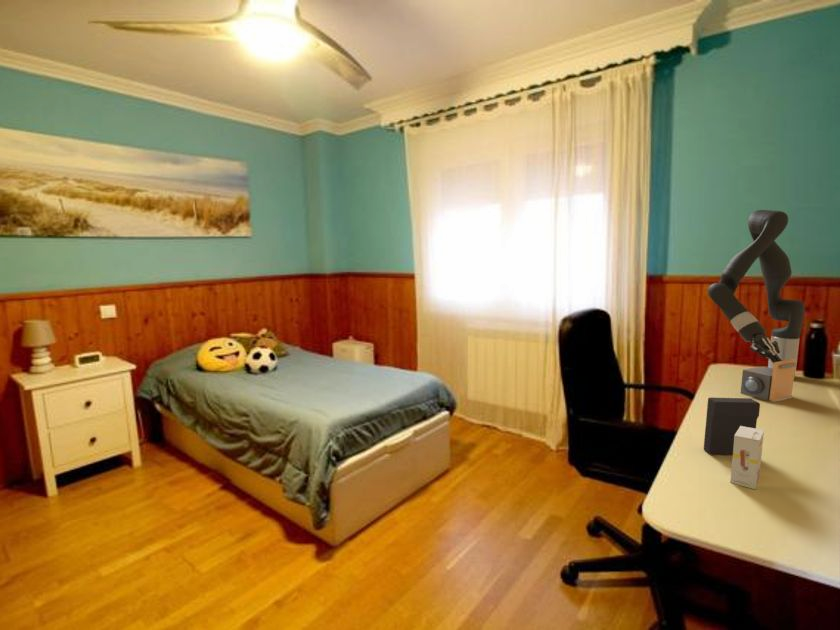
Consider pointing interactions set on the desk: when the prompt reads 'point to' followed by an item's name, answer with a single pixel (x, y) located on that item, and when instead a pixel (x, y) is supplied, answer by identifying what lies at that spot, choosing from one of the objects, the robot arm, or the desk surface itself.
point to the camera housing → (757, 382)
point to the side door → (782, 380)
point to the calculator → (727, 422)
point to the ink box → (747, 456)
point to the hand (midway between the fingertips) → (781, 365)
